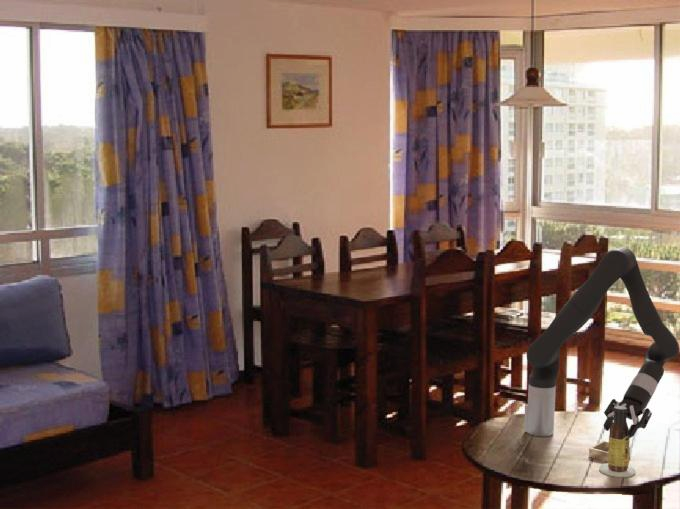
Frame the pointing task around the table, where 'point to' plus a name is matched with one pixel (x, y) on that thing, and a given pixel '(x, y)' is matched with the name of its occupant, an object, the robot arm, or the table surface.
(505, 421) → the table surface
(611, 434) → the sauce bottle
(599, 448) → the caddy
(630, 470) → the trivet
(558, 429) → the table surface
